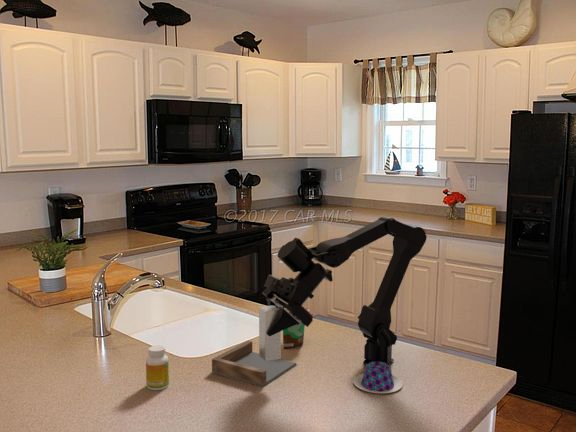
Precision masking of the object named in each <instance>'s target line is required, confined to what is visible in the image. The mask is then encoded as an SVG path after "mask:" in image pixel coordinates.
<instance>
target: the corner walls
mask: <svg viewBox="0 0 576 432" xmlns="http://www.w3.org/2000/svg"><path fill="white" fill-rule="evenodd" d="M251 352H253V341H251V340H246V341H245V342H243V343H241V344H239V345H237V346H235V347H233V348H231V349H229V350H227V351H225V352H223V353H222V354H219V355H217V356H215V357H214V358H212V359H211V371H212V370H213V371H217V372H220V373H224V374H227V375H231V376H234V377H238V378H242V379H245V380H249V381H252V382H256V383H259V384H264V383H266V371H265V370H262V369H258V368H254V367H250V366H247V365H243V364H239V363H235V361H237V360H238V359H240V358H242V357H244V356H246V355H248V354H249V353H251Z"/></svg>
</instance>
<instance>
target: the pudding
mask: <svg viewBox="0 0 576 432" xmlns="http://www.w3.org/2000/svg"><path fill="white" fill-rule="evenodd" d="M365 365H366V366H365V367H364V368H365V369H364V372H363V373H362V374H358V375H357V376H355V377H354V379H353V384H354V385H355V387H357V388H358V389H360V390H362V391H364V392H368V393H374V394H390V393H395V392H397V391H399V390H400V389H401V388H402V387H403V382H402V381H401V379H399V378H398V377H396V376H394V375H393V373H392V369H391V367H390V365H388V364H386V363H382V362H371V363H368V364H365Z"/></svg>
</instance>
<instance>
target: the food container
mask: <svg viewBox="0 0 576 432" xmlns="http://www.w3.org/2000/svg"><path fill="white" fill-rule="evenodd" d="M298 322H299V323H300V324H299V325H294V326H292V327H289V328H287V329H285V330H282V347H283V350H291V349H292V350H293V349H298V348H300V347H302V346H303V345H304V338H305V327H306V326H305V325H304V324H303V323H301V322H302V321H300V320H299V321H298Z"/></svg>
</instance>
